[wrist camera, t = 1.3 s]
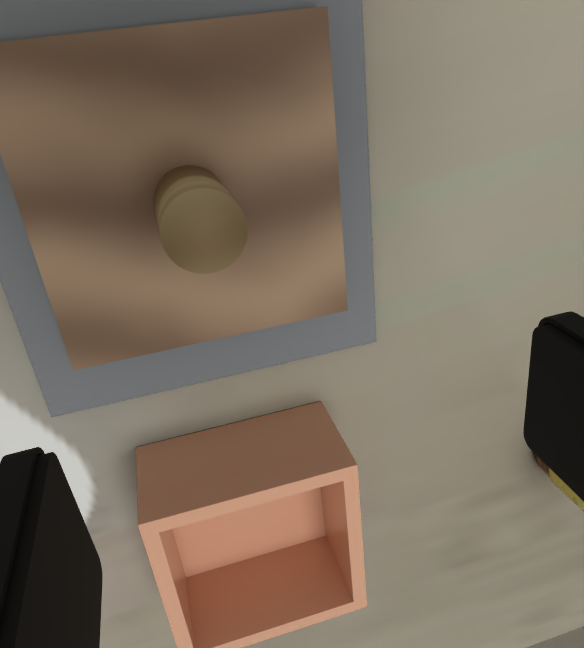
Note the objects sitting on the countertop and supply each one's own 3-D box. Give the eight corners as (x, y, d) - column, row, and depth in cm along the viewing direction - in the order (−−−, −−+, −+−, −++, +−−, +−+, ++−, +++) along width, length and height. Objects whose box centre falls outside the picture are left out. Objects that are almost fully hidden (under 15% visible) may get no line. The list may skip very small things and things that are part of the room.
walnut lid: (-29, 46, 21) (-81, 42, 16) (318, 8, 24) (374, -7, 19) (75, 358, 28) (63, 431, 22) (340, 301, 30) (386, 354, 25)
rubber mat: (-115, -40, 20) (-121, -42, 20) (354, -78, 23) (358, -80, 23) (52, 411, 29) (51, 417, 29) (373, 337, 32) (376, 341, 32)
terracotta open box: (135, 447, 31) (138, 525, 26) (321, 401, 33) (357, 464, 28) (175, 579, 36) (183, 666, 31) (334, 531, 38) (367, 606, 33)
